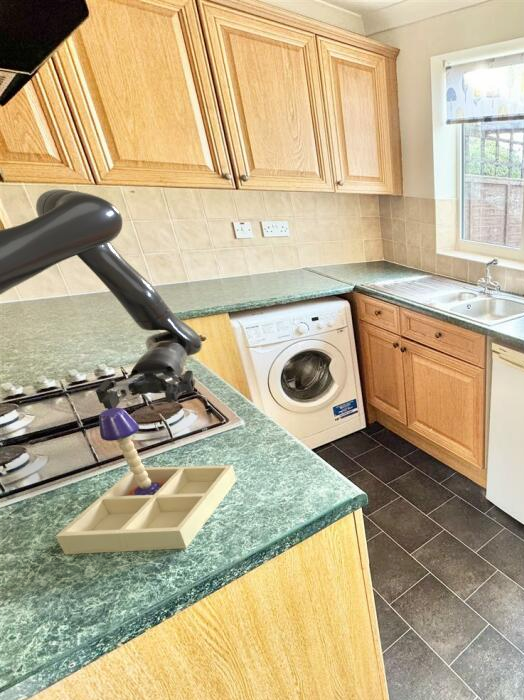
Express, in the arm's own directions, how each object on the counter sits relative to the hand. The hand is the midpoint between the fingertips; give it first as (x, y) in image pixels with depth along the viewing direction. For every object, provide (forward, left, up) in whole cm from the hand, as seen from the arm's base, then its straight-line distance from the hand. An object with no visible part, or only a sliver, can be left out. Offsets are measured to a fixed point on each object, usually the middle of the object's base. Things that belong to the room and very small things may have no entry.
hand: (139, 402), depth 76 cm
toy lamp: (+4, -10, -13) cm, 17 cm away
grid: (+8, -14, -14) cm, 21 cm away
